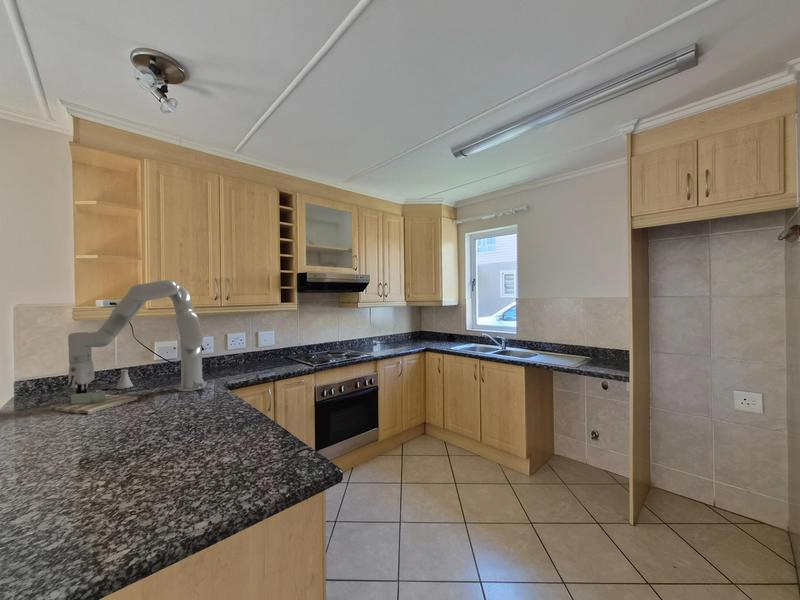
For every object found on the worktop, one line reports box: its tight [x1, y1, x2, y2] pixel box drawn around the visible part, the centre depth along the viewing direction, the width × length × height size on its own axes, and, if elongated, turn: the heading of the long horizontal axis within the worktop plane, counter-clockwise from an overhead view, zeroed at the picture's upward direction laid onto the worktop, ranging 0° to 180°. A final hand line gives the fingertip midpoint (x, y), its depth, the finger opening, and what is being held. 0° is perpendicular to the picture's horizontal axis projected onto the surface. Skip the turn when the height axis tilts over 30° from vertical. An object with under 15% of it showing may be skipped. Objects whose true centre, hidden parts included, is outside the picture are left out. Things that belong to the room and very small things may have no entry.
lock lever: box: [69, 389, 106, 404], centre depth 148 cm, size 13×5×5 cm, turn 108°
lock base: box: [55, 394, 139, 415], centre depth 149 cm, size 20×20×2 cm
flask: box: [115, 368, 134, 390], centre depth 180 cm, size 7×7×10 cm
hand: (81, 398), depth 150 cm, fingers closed
